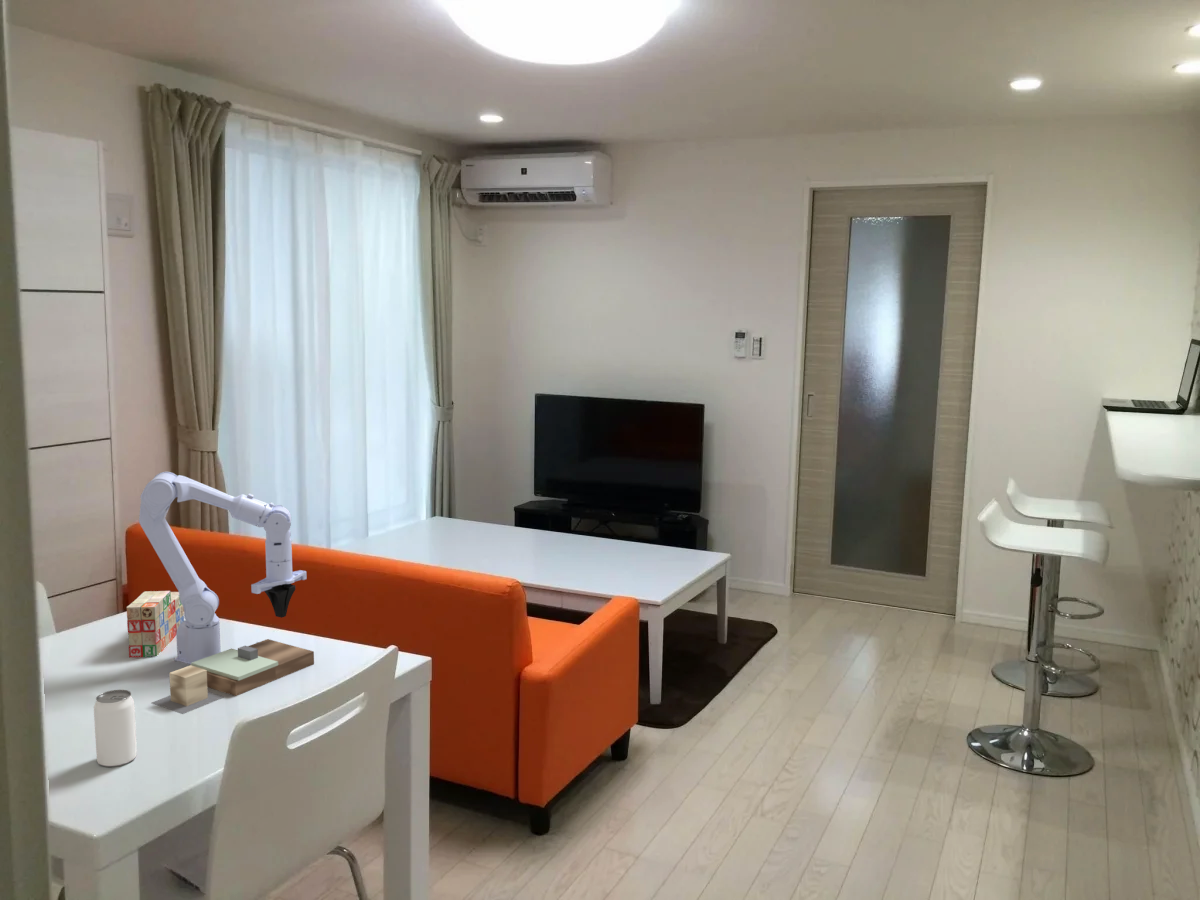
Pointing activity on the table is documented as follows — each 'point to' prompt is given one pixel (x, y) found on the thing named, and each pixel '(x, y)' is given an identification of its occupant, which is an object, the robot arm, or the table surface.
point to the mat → (183, 709)
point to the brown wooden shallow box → (287, 664)
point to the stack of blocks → (153, 622)
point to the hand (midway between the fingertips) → (280, 616)
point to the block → (188, 685)
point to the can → (115, 728)
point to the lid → (236, 663)
